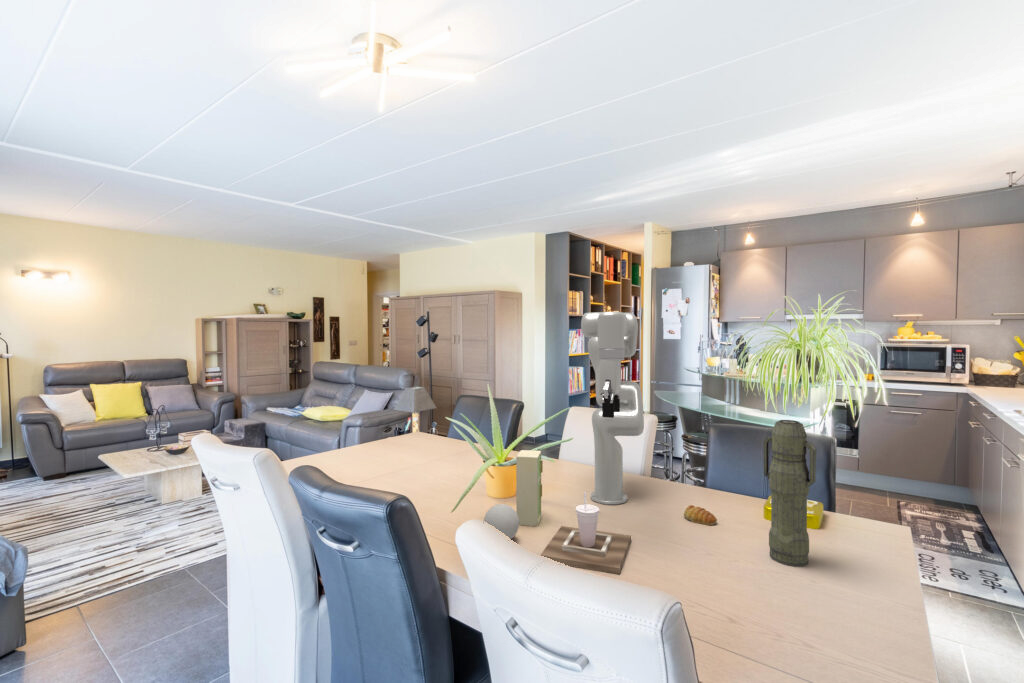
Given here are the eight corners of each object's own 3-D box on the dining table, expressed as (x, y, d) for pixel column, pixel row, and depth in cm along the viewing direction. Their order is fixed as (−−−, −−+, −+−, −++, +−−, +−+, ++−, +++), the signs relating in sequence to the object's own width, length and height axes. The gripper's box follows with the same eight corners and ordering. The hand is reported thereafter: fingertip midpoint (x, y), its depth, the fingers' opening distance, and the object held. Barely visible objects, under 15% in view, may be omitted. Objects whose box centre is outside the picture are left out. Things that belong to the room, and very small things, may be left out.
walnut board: (561, 530, 144) (561, 521, 144) (631, 540, 137) (631, 531, 137) (540, 560, 126) (540, 550, 126) (619, 574, 119) (619, 563, 118)
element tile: (770, 506, 164) (770, 491, 164) (823, 515, 155) (824, 500, 155) (762, 520, 152) (762, 505, 152) (819, 531, 143) (819, 515, 143)
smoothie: (573, 539, 135) (572, 488, 134) (596, 538, 135) (596, 487, 135) (578, 550, 128) (578, 496, 128) (602, 549, 129) (602, 495, 129)
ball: (524, 536, 141) (524, 501, 141) (510, 550, 132) (510, 513, 132) (493, 531, 145) (493, 497, 145) (477, 544, 136) (476, 508, 136)
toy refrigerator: (540, 527, 148) (539, 457, 147) (516, 525, 149) (515, 456, 149) (544, 517, 155) (543, 450, 155) (521, 515, 157) (520, 449, 156)
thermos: (812, 572, 119) (812, 427, 118) (758, 557, 126) (759, 421, 125) (819, 559, 125) (819, 421, 124) (768, 546, 133) (768, 416, 132)
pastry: (721, 523, 150) (721, 510, 149) (709, 528, 146) (709, 516, 145) (693, 514, 157) (693, 502, 157) (681, 519, 153) (681, 507, 153)
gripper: (603, 353, 151) (604, 409, 152) (591, 356, 135) (591, 418, 136) (628, 353, 149) (628, 410, 149) (619, 356, 132) (619, 420, 133)
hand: (611, 414), depth 142 cm, fingers open, 9 cm apart
